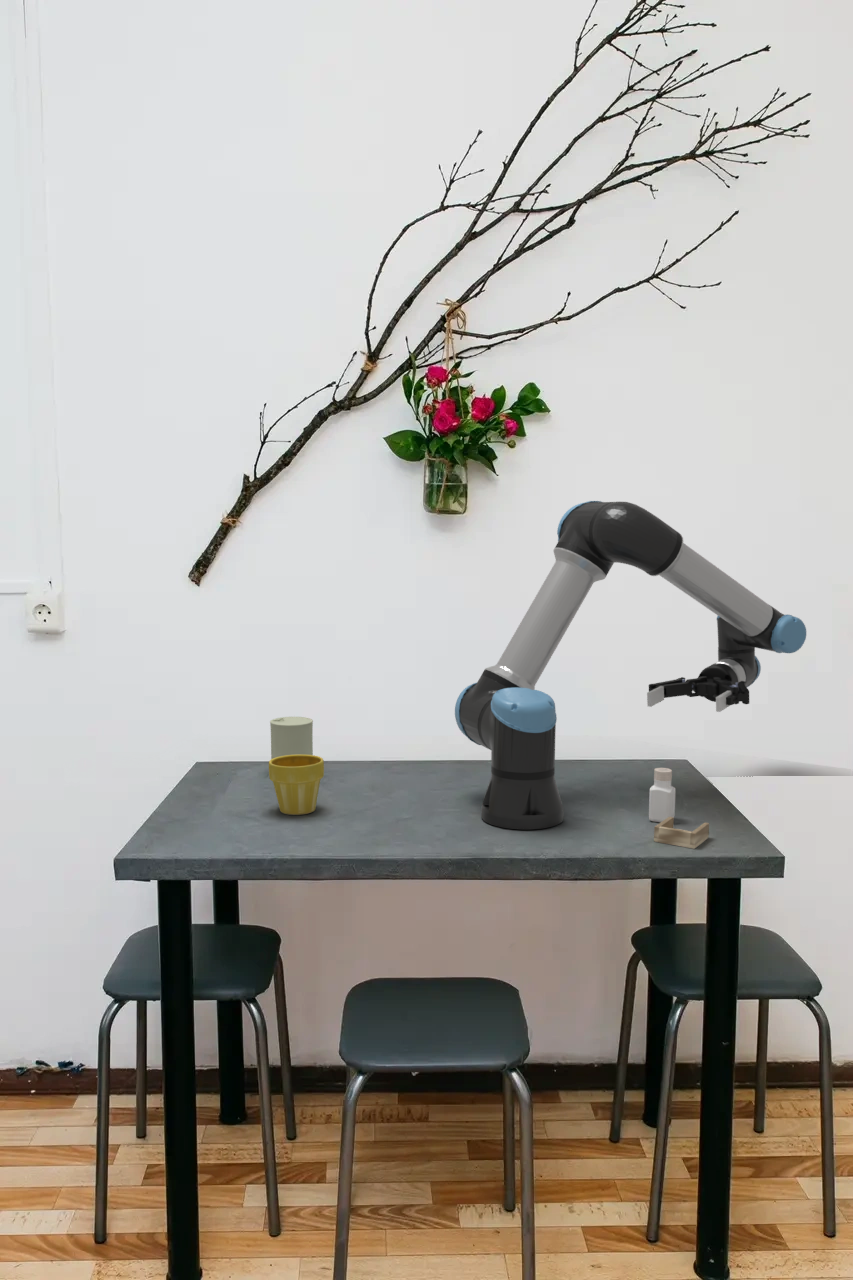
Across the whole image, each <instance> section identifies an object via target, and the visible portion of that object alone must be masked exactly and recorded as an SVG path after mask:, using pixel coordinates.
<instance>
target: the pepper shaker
mask: <svg viewBox="0 0 853 1280" xmlns="http://www.w3.org/2000/svg"><path fill="white" fill-rule="evenodd" d="M653 771H654V773H653V774H654V775H653V781H654V782H653V785H651V787H650V788H649V794H648V795H649V798H648V799H649V801H648V819H649V821H651V822H654V823H655V822H656V823H661V822H662V821H664V820H665V819H667V818H668V817H674V818H675V817H676V815H675V812H676V787H675V786H673V785H672V780H673V779H672V778H673V777H672V776H673V769H670V768H668V767H655V768H654V770H653Z"/></svg>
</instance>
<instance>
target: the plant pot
mask: <svg viewBox="0 0 853 1280" xmlns="http://www.w3.org/2000/svg"><path fill="white" fill-rule="evenodd" d="M268 774H269V776H268V777H269V780H270V781H271V782H272V784H273V787H274V792H275V794H276V799H277V804H278V808H279V811H280V813H282V814H285V815H289V816H300V815H307V814H312V813H313V812H315V811H316V807H317V801H318V796H319V795H318V794H319V790H320V784H321V780H322V779H323V777H324V776H325V761H324V758H323V757H321V756H318V755H314V754H313V755H302V754H298V755H285V756H279V757H276V758H273V759H271V758H270V760H269V761H268Z"/></svg>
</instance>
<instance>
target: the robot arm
mask: <svg viewBox="0 0 853 1280" xmlns="http://www.w3.org/2000/svg"><path fill="white" fill-rule="evenodd" d="M556 532H557V542H556V545H555V547H554V549H553V554H554V558H555V562H554V564H553V565H552V567H551V569H550V571H549V573H548V575H547V576H546V577H545V580H544V581H543V583H542V584H541V587H540V588H539V590H538V592H537V594H536V595H535V597H534V599H533V601H532V602H531V603H530V606H529V607H528V609H527V611H526V612H525V614H524V616H523V618H522V619H521V621H520V624H519V625H518V627H517V628H516V630H515V632H514V633H513V635H512V637H511V638H510V641H509V643H507V646H506V647H505V650H504V651H503V653H502V654H501V655H500V656H501V657H500V658H499V660H498V661H497V663H496V664H495V665H492V666H488V667H485V668H484V670H483V671H482V673H481V676H480V677H479V678H478V681H476V682H473V683H471V684H470V685H467V686H466V687H465V688H463V690H462V691H461V692H460V694H459V696H458V697H457V700H456V702H455V706H454V717H455V721H456V724H457V727H458V729H459V730H460V731H461V733H462V734H463V735H464V736H465V737H466V738H467V739H468V740H469V741H471V742H473V743H475V744H476V745H478V746H481V747H484V748H486V749H487V750H490V752H491V754H490V757H491V759H490V760H491V761H490V763H491V765H490V767H491V768H490V769H491V771H490V779H489V782H488V785H487V788H486V790H485V792H484V793H485V794H484V796H483V799H482V803H481V810H480V811H481V812H480V815H481V816H480V817H481V819H482V820H483V821H484V822H485V823H487V824H489V825H492V826H495V827H499V828H504V829H510V830H525V831H527V830H541V829H547V828H548V829H549V828H552V827H555V826H558V825H559V824H561V823H562V822H563V821H564V810H565V809H564V805H563V802H562V801H563V800H562V798H561V795H560V791H559V788H558V785H557V781H556V779H555V777H556V776H555V774H556V773H555V772H556V771H555V769H556V767H555V765H556V724H557V720H558V719H557V712H556V703H555V701H554V699H553V697H551V695H549V694H548V693H545V692H543V691H542V690H537V689H535V688H536V687H535V686H536V685H537V683H538V681H539V679H540V677H541V676H542V674H543V672H544V670H545V668H546V667H547V665H548V663H549V662H550V660H551V658H552V656H553V654H554V653H555V651H556V649H557V648H558V645H559V644H560V642H561V641H562V639H563V637H564V635H565V634H566V632H567V630H568V629H569V628H570V627H569V626H570V625H571V623H572V621H573V620H574V618H575V617H576V615H577V613H578V611H579V609H580V607H581V605H583V602H584V601H585V598H587V595H588V593H589V592H590V590H591V588H592V586H593V585H594V583H596V582H600V581H603V580H605V579H606V578H607V575H608V574H609V572H610V570H611V569H612V567H613V565H614V564H615V563H620V564H624V565H629V566H632V567H634V568H637V569H639V570H641V571H643V572H644V573H646V574H647V575H649V576H651V577H657V576H660V577H662V579H664V580H666V581H667V582H669V583H670V584H672V586H675V587H676V588H677V589H678V590H680V591H682V592H683V593H684V594H686V595H687V596H689V597H690V598H692V599H693V600H694V601H696V602H697V603H699V604H700V605H702V606H703V607H705V608H706V609H708V610H709V611H711V612H712V613H714V614H715V615H716V616H717V617H716V625H717V645H718V647H717V659H718V661H716V662H714V663H712V664H711V665H709V666H707V667H704V668H703V669H702V670H701V671H700V673H699V675H698V676H697V677H696V678H688V679H686V677H683V676H682V677H679V678H676V679H671V680H665V681H660V682H655V683H650V684H648V692H646V696H647V697H646V702H647V703H646V704H647V707H649V708H650V707H651V708H652V707H653V706H655V705H656V704H659V703H661V702H663V701H664V700H665V698H667V699H668V698H674V697H675V698H676V697H682V696H683V697H684V696H687V697H690V698H695V697H702V698H705V699H706V700H709V702H714V703H715V712H716V713H717V712H718V713H721V712H722V711H724V710H725V709H727V708H728V707H730V706H734V705H738V704H740V702H741V703H742V704H743V705H749V704H750V690H749V687H750V686H752V685H753V684H754V682H755V681H757V679H758V678H759V676H760V674H761V670H762V666H761V663H760V660H759V658H758V657H757V656H756V652H755V651H756V649H761V650H766V651H770V652H775V653H777V654H782V653H784V654H793V653H796V652H798V651H799V650H800V649H801V648H803V645H804V644H805V642H806V640H807V627H806V624H805V623H804V621H803V620H802V619H800V617H797V616H793V615H792V614H784V613H782V612H780V611H779V610H778V609H776V608H774V607H773V606H772V605H771V604H769V603H767V602H766V601H765V600H763V599H762V598H760V597H759V596H757V595H756V594H755V593H753V592H752V591H751V590H750V589H748V588H746V587H745V586H744V585H743V584H742V583H739V582H738V581H737V580H735V579H734V578H733V577H732V576H730V575H729V574H727V573H726V572H724V570H722V569H720V568H719V567H717V566H716V565H715V564H714V563H712V562H711V561H709V560H708V559H707V558H705V557H703V555H701V554H699V553H698V552H697V551H695V550H694V549H692V548H691V546H688V545H687V544H686V543H684V537H683V536H682V534H681V533H680V532H679V531H677V530H676V529H674V528H673V527H672V526H670V525H669V524H667V523H666V522H665V521H663V520H662V519H661V518H659V517H658V516H656V515H654V514H653V513H652V512H650V511H649V510H647V509H645V508H643V507H641V506H640V505H637V504H635V503H633V502H628V501H601V500H589V501H586V502H580V503H578V504H575V505H573V506H572V507H570V508H568V509H567V511H565V513H564V514H563V516H561V518H560V520H559V523H558V526H557V531H556Z"/></svg>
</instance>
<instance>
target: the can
mask: <svg viewBox="0 0 853 1280" xmlns="http://www.w3.org/2000/svg"><path fill="white" fill-rule="evenodd" d="M313 722H314V720H313V719H312V718H309V717H306V716H305V717H304V716H282V717H277V718H273V719H271V720H270V721H269V723H270V725H269V726H270V755H271V758H270V760H271V759H273V758H276V757H279V756H285V755H298V754H302V755H314V754H313V749H314V748H313V742H314V741H313V739H314V738H313V737H314V736H313V724H314V723H313Z"/></svg>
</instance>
